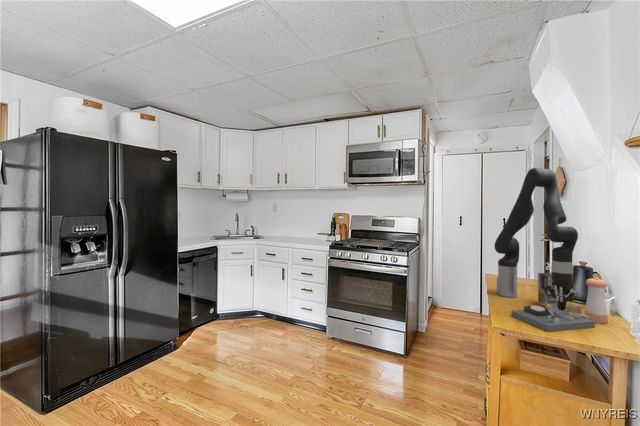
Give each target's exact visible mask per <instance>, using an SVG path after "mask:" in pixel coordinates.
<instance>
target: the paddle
mask: <svg viewBox="0 0 640 426" xmlns="http://www.w3.org/2000/svg"><path fill="white" fill-rule="evenodd" d="M581 314H582V306H581V305H578V304H574V305H573V304H572V305H566V316H569V317H572V318H581Z"/></svg>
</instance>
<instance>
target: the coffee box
mask: <svg viewBox="0 0 640 426" xmlns="http://www.w3.org/2000/svg"><path fill="white" fill-rule="evenodd" d="M551 283H552V280H551V272H538V273H537V287H538V289H537V291H538V294H537V298H538V299H537V300H538V301H537V302H538V304H539V305H541V306H542V307H544V308H546V305H547V304H550V305H551V306H552V307H554V308H557V300H556V299H555V298H553V297H552V295H551V293H550V292H549V290H548V288H547V286H549V285H551Z"/></svg>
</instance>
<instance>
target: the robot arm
mask: <svg viewBox="0 0 640 426" xmlns="http://www.w3.org/2000/svg"><path fill="white" fill-rule="evenodd" d="M557 179H558V178H557V175H556V172H555V171H554V170H553V169H550V168H542V167H541V168H540V167H533V168H530V170H528V172H527V173H526V174H525V177H524V180H523V183H522V186H521V190H520V192H519V194H518V197H517V199H516V201H515V203H514V205H513V207H512V209H511V211H510V213H509V217H508V218H507V220H506V222H505V224H504V226H503V227H502V230H501V231H500V233H499V235H498V236H497V238H496V240H495V242H494V250H495V252H496V253H498V254H501V255H502V254H503V255H504V256H503V257H501V258H499V259H498V261H497V277H496V294H497V295H499V296H500V297H504V298H518V263H519V261H520V242H519V241H518V239H517V238H515V237H514V236H515V235H516V234H517V233H518V232H519V231H520V230H522V229H523V228H524V227H525V226H527V224H528V223H529V222H530V220H531V218H532V217H533V214H534V211H535V209H534V204H533V199H532V196H533V193H534V190H535V188H536V187H537V188H544V190H545V192H546V197H545V200H544V203H543V207H542V209H543V212H544V217H545V218H546V222H547V223H546V225H547V226H546V227H547V229H546V233H547V238H548V239H549V240H550V241H551V242H553V243H562V245H561V246H557V247H553V248H552V250H551V252H552V253H551V254H552V255H551V256H552V257H551V269H550V270H551V271H550V273H551V280H552V283H551V285H549V286H547V288H548V290H549V292H550V293H551V295H552V297H553V298H555V299H556V300H557V307H558V309H560V310H565V309H566V306H567V303H568V302H569V303H570V302H572V301H574V299H575V298H577V297H578V296H579V292H577V291H575V290H574V287H573V283H574V264H573V253H574V249H575V246H576V244H577V242H578V239H579V232H578V231H577V229H576V228H575V227H573V226H559V225H562V224H564V223H566V222H567V215H566V213H565V211H564V208H563V205H562V202H561V199H560V191H559V186H558V180H557Z"/></svg>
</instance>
